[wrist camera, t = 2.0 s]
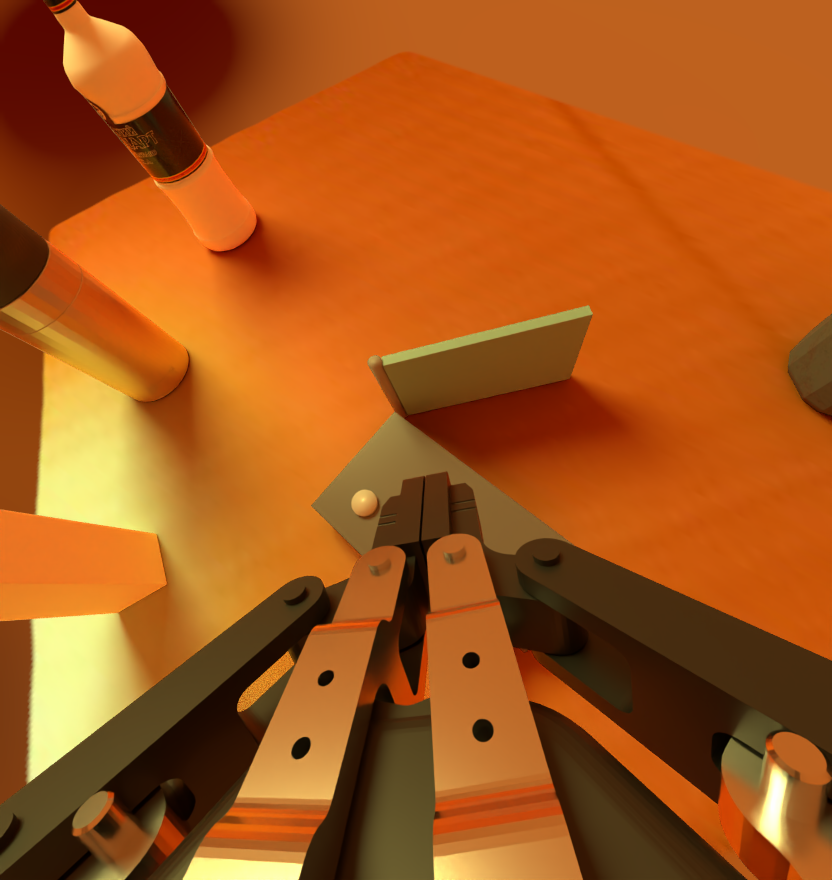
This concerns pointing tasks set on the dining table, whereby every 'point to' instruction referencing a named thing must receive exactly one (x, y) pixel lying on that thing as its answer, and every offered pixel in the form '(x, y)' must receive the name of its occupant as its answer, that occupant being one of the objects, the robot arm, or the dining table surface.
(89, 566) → the milk
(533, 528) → the box with round knob
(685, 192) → the dining table surface
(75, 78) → the vodka
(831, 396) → the bottle
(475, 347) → the door
